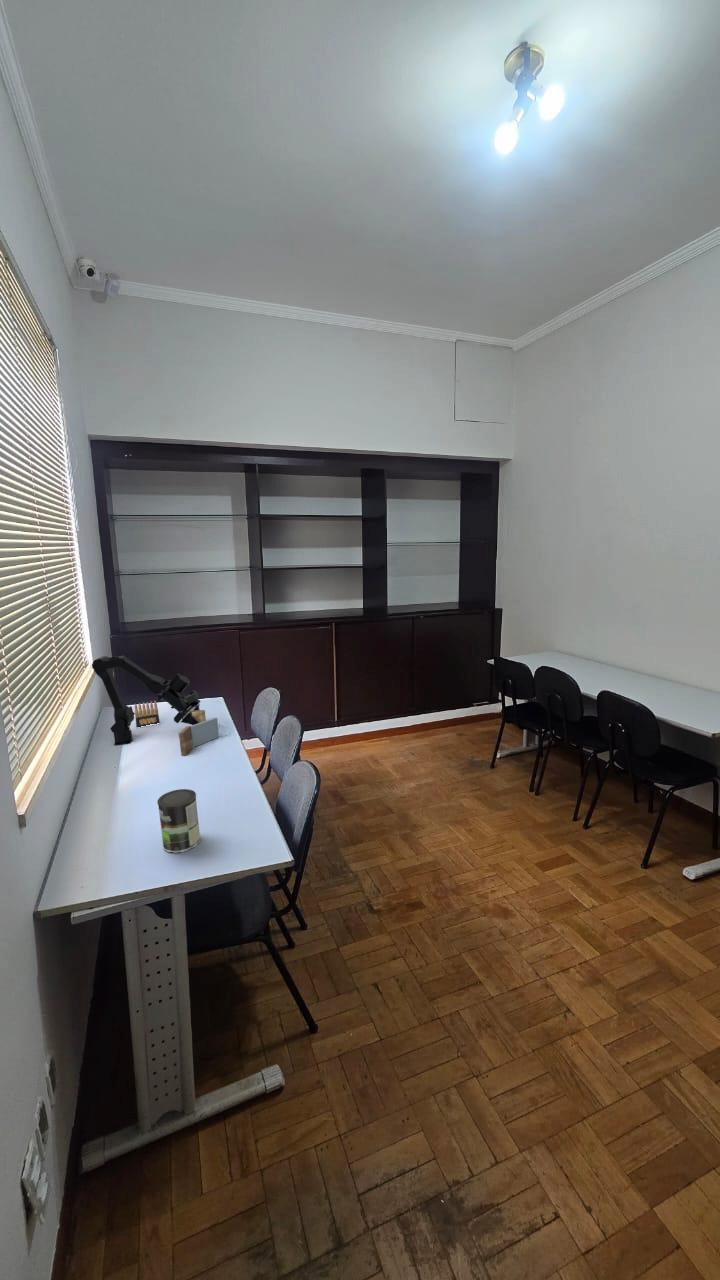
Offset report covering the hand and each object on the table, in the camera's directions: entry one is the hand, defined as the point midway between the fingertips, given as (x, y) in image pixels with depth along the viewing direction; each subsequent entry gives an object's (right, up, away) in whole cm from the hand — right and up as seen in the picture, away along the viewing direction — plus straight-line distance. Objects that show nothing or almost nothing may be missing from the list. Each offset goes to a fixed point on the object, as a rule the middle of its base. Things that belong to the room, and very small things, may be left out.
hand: (202, 723), depth 228 cm
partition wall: (-2, -10, -14) cm, 17 cm away
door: (+3, -8, -4) cm, 9 cm away
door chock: (-1, -7, +1) cm, 7 cm away
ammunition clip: (-33, -5, +22) cm, 40 cm away
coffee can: (+19, -21, -81) cm, 86 cm away
